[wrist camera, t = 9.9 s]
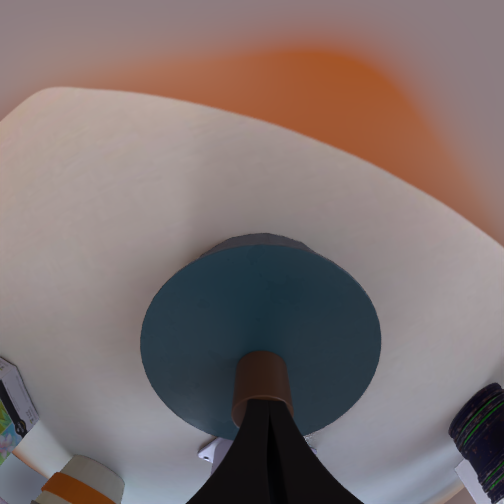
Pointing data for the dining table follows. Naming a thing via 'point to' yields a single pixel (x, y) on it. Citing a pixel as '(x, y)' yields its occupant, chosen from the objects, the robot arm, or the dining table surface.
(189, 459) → the dining table surface
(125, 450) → the dining table surface
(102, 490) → the reusable coffee cup
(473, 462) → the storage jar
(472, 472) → the milk
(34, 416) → the tea box
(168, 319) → the lid
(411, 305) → the dining table surface
